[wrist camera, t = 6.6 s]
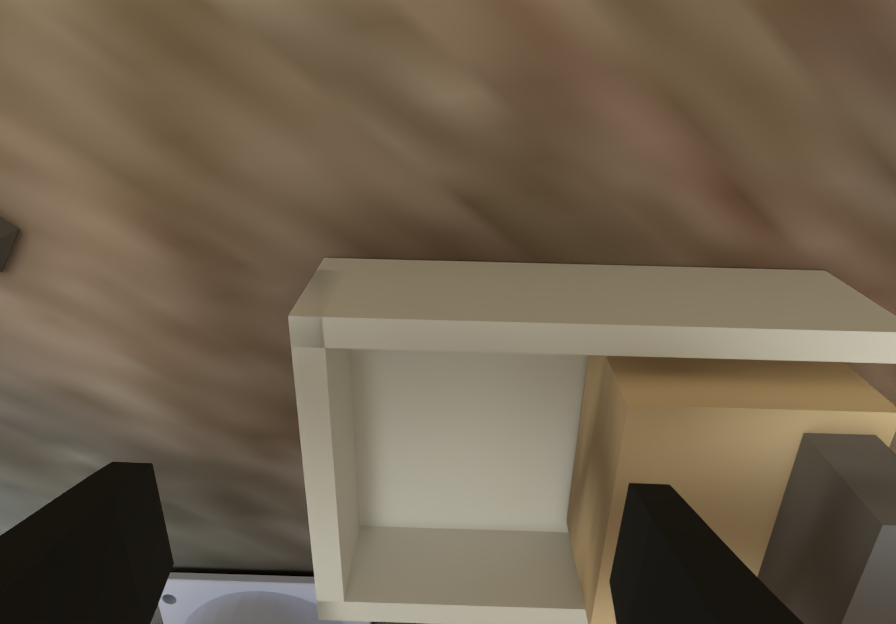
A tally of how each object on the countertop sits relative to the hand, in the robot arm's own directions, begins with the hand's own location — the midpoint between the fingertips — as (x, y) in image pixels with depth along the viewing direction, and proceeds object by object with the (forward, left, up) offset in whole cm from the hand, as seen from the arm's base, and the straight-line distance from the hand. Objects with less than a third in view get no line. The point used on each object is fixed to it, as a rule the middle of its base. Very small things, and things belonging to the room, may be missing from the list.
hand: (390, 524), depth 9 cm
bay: (-4, -4, -9) cm, 11 cm away
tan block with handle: (-4, -8, -8) cm, 12 cm away
